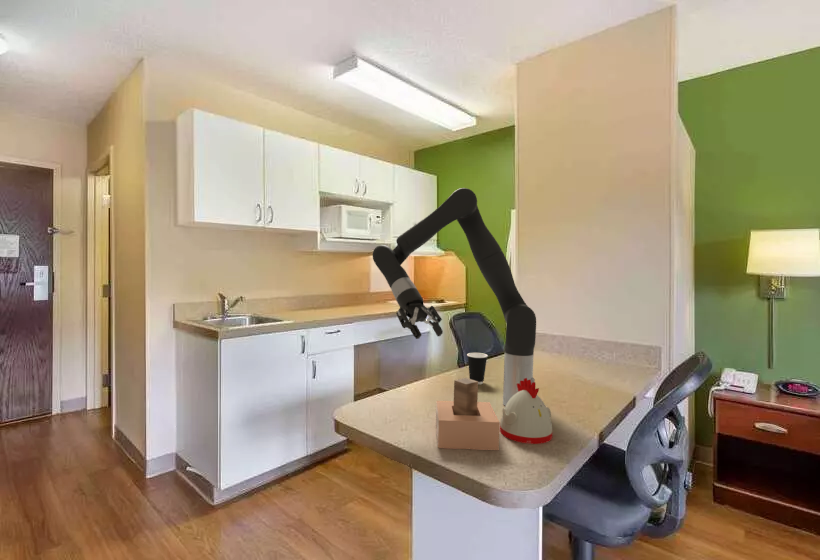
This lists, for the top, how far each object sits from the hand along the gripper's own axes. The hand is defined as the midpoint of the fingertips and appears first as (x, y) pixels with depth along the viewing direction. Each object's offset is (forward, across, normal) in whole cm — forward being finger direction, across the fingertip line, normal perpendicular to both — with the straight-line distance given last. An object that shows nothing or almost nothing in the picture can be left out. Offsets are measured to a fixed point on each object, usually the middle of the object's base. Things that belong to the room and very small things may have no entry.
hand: (430, 336), depth 124 cm
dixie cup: (+6, +40, +29) cm, 49 cm away
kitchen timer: (+35, +14, 0) cm, 38 cm away
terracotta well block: (+29, -2, +5) cm, 30 cm away
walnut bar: (+28, -2, +4) cm, 29 cm away
